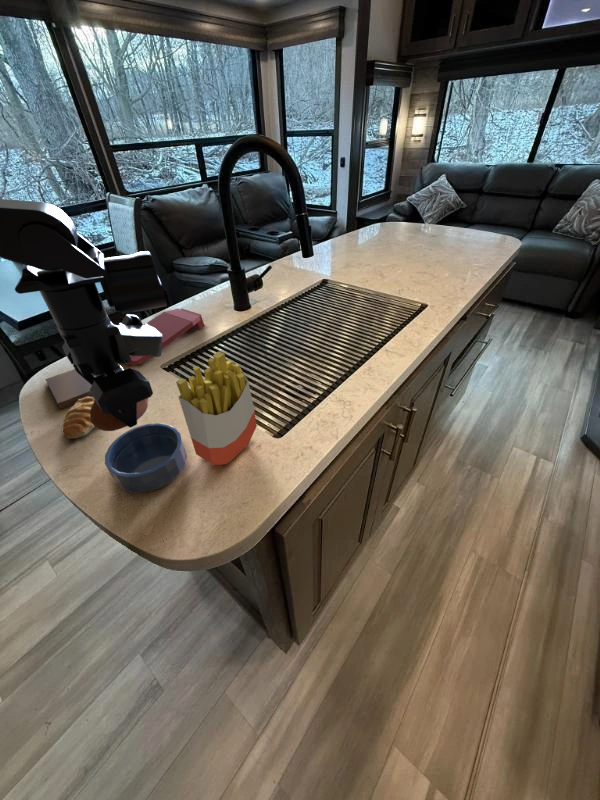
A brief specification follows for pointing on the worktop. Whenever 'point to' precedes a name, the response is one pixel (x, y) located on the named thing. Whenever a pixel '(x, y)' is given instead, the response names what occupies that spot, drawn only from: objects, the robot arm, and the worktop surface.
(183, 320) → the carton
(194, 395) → the french fries container
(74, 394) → the flat rectangular box
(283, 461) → the worktop surface
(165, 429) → the bowl
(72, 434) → the pastry
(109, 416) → the potato
